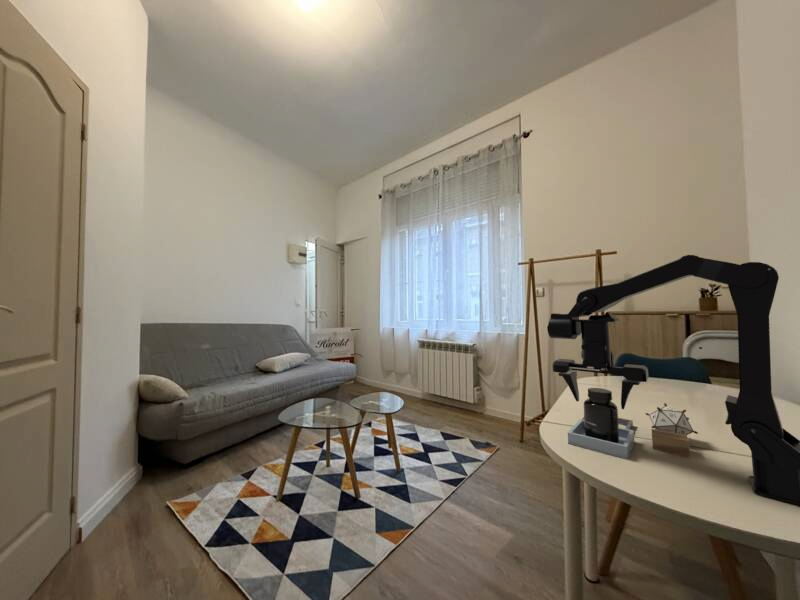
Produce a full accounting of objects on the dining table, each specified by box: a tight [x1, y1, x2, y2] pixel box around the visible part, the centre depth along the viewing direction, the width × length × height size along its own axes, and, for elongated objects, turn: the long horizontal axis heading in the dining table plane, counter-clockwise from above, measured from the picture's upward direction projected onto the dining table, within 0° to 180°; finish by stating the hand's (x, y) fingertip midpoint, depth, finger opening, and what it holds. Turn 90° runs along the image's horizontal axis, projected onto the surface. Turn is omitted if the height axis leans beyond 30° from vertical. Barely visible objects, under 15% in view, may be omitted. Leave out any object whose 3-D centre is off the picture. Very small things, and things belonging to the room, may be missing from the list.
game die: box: [645, 402, 699, 436], centre depth 71 cm, size 9×8×10 cm
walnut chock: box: [651, 428, 691, 458], centre depth 65 cm, size 4×6×4 cm, turn 51°
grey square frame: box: [580, 416, 634, 430], centre depth 79 cm, size 10×10×2 cm
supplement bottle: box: [583, 387, 620, 443], centre depth 70 cm, size 7×7×12 cm
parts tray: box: [567, 419, 636, 460], centre depth 70 cm, size 11×11×3 cm
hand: (599, 404), depth 70 cm, fingers open, 9 cm apart
